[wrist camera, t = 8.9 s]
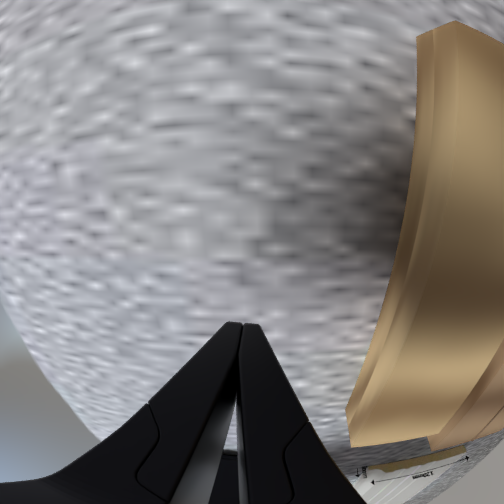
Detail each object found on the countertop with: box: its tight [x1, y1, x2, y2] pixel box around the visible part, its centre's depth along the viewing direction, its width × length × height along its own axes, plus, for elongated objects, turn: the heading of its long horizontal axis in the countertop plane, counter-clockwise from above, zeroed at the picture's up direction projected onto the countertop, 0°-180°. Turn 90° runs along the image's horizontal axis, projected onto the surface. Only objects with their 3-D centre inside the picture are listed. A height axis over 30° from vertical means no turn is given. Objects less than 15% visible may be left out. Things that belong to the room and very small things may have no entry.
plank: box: [345, 21, 504, 448], centre depth 10 cm, size 18×6×3 cm, turn 179°
